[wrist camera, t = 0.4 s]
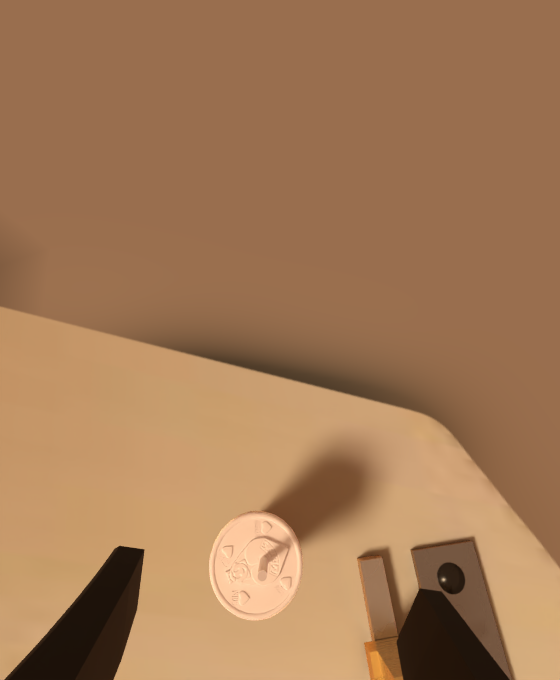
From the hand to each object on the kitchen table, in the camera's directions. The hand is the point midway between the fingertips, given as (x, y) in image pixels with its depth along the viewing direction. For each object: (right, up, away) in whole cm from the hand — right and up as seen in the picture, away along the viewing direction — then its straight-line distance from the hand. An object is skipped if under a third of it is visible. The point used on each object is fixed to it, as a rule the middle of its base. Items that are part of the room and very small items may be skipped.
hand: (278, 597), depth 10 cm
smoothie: (-2, -12, +24) cm, 27 cm away
